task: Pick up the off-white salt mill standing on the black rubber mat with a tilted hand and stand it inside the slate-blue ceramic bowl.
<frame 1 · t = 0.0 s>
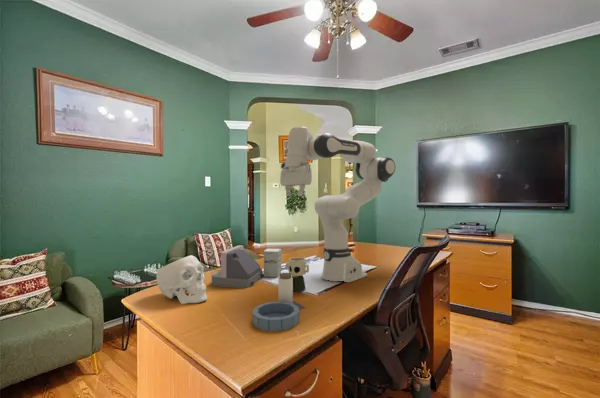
hand: (294, 196, 121), 39 cm above the table, tool pointing down, fingers open, 8 cm apart
character mug: (297, 290, 116), on the table
skull planter: (183, 298, 109), on the table
instant camera: (238, 281, 131), on the table
mat: (285, 307, 99), on the table
supplement box: (272, 275, 139), on the table
bowl: (276, 321, 87), on the table
salt mill: (285, 306, 99), resting on mat
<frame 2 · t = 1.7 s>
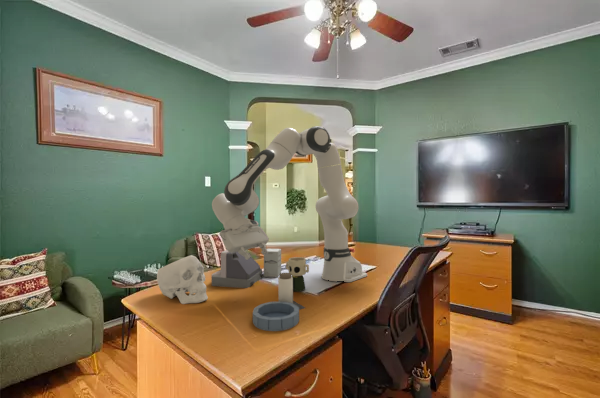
hand: (257, 256, 105), 17 cm above the table, tool tilted 45°, fingers open, 8 cm apart
nothing on the table moved.
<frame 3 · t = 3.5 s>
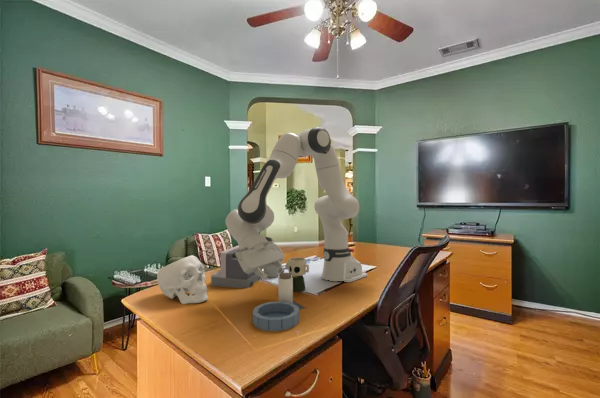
hand: (274, 275, 101), 10 cm above the table, tool tilted 45°, fingers open, 8 cm apart
nothing on the table moved.
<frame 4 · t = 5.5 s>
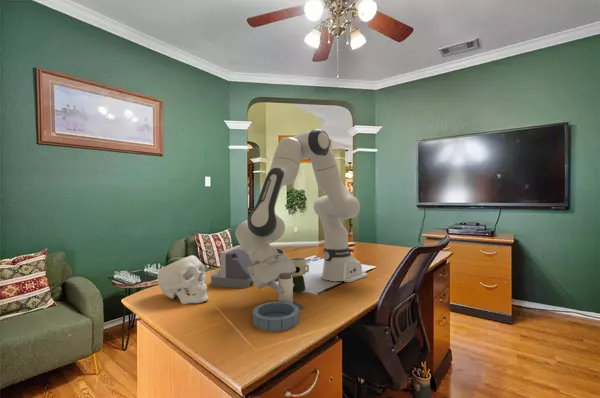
hand: (287, 290, 98), 6 cm above the table, tool tilted 45°, fingers closed on salt mill, 5 cm apart
salt mill: (285, 306, 99), resting on mat, touching gripper
everything else where it was.
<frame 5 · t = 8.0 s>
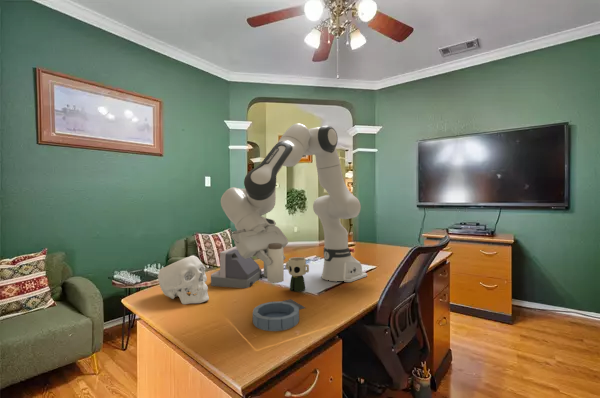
hand: (277, 262, 87), 18 cm above the table, tool tilted 45°, fingers closed on salt mill, 5 cm apart
salt mill: (275, 280, 87), point 13 cm above the table, touching gripper
everything else where it was.
when the fingers open (8 cm above the table, at t = 10.7 s): salt mill drops 2 cm, resting on bowl.
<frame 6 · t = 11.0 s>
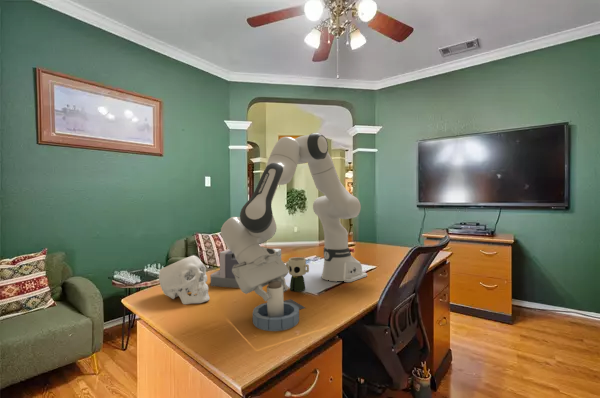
hand: (277, 294, 87), 8 cm above the table, tool tilted 45°, fingers open, 8 cm apart
salt mill: (275, 318, 87), point 1 cm above the table, touching bowl
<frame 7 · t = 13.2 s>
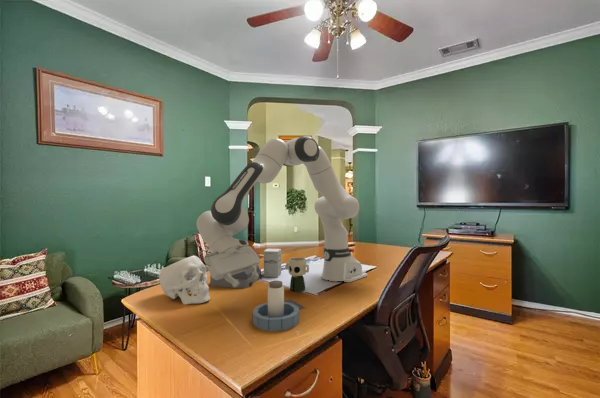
hand: (247, 281, 95), 10 cm above the table, tool tilted 45°, fingers open, 8 cm apart
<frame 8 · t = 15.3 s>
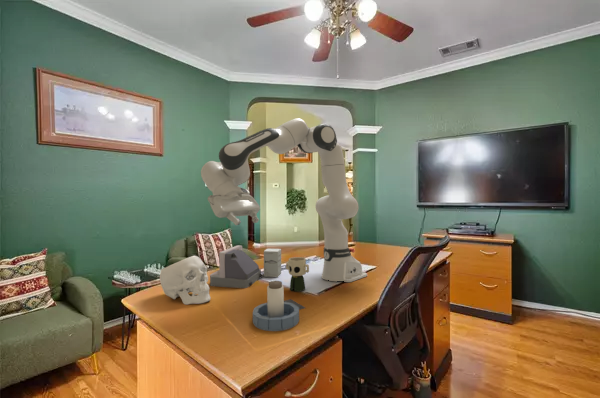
hand: (247, 222, 101), 29 cm above the table, tool tilted 45°, fingers open, 8 cm apart
at the end: salt mill inside the target area on the bowl (0.1 cm from its centre), point 0.8 cm above the bowl's base; salt mill tilted 1°; the gripper is holding nothing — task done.
